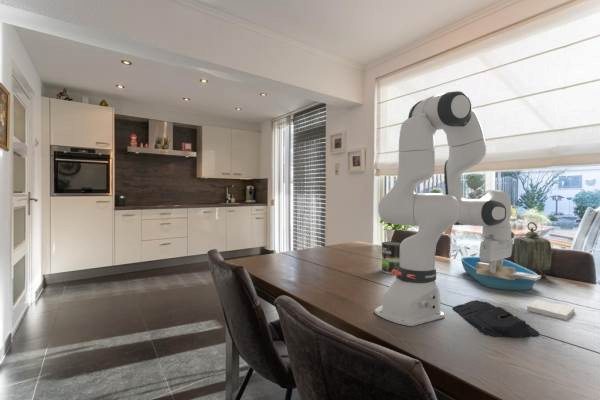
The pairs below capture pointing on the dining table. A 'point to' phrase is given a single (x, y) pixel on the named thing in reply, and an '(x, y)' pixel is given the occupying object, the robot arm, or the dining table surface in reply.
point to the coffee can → (390, 256)
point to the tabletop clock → (532, 251)
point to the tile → (551, 309)
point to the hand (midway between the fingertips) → (495, 271)
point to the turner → (504, 272)
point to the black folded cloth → (494, 320)
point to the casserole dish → (497, 282)
